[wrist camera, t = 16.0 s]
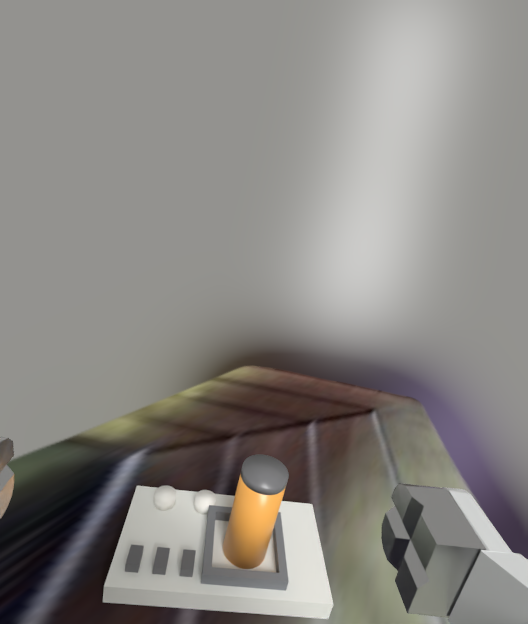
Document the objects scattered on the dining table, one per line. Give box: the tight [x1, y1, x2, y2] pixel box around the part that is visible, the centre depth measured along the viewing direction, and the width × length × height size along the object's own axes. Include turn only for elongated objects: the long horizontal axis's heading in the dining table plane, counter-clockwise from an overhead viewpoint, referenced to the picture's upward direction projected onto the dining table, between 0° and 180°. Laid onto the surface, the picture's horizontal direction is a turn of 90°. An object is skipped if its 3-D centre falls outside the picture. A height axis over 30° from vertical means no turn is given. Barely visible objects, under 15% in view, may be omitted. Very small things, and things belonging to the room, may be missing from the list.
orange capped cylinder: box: [223, 455, 289, 569], centre depth 40 cm, size 4×4×10 cm
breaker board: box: [103, 486, 333, 619], centre depth 42 cm, size 21×12×3 cm, turn 93°
